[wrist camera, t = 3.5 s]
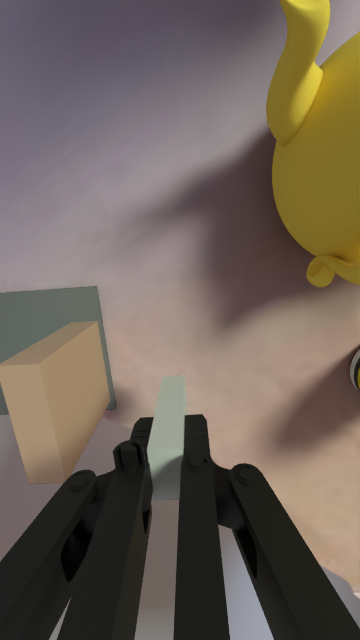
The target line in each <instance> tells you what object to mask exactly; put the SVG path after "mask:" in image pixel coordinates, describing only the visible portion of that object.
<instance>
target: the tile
mask: <svg viewBox="0 0 360 640" xmlns="http://www.w3.org/2000/svg"><path fill="white" fill-rule="evenodd" d="M0 383H1V387H2V390H3V394H4V397H5V401H6V404H7V408H8V411H9V415H10V418H11V422H12V426H13V429H14V432H15V436H16V440H17V443H18V447H19V450H20V454H21V457H22V461H23V465H24V468H25V472H26V475H27V479H28V482H29V484H42V483H43V484H44V483H45V484H46V483H64V482H65V481H66V480H67V479H68V478H69V477H70V475H71V473H72V471H73V470H74V468H75V466H76V464H77V462H78V460H79V458H80V456H81V454H82V453H83V451H84V449H85V447H86V445H87V443H88V442H89V440H90V438H91V436H92V434H93V432H94V430H95V429H96V427H97V425H98V423H99V421H100V419H101V417H102V415H103V414H104V412H105V410H106V408H107V406H108V404H109V402H110V395H109V389H108V383H107V377H106V371H105V365H104V358H103V352H102V346H101V340H100V334H99V328H98V322H97V321H87V322H72V323H69V324H68V325H66V326H64V327H62V328H61V329H59V330H57V331H56V332H54V333H52V334H50V335H49V336H47V337H45V338H44V339H42V340H40V341H38V342H37V343H35V344H33V345H32V346H30V347H28V348H26V349H25V350H23V351H21V352H20V353H18V354H16V355H14V356H13V357H11V358H9V359H8V360H6V361H4V362H2V363H1V364H0Z"/></svg>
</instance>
